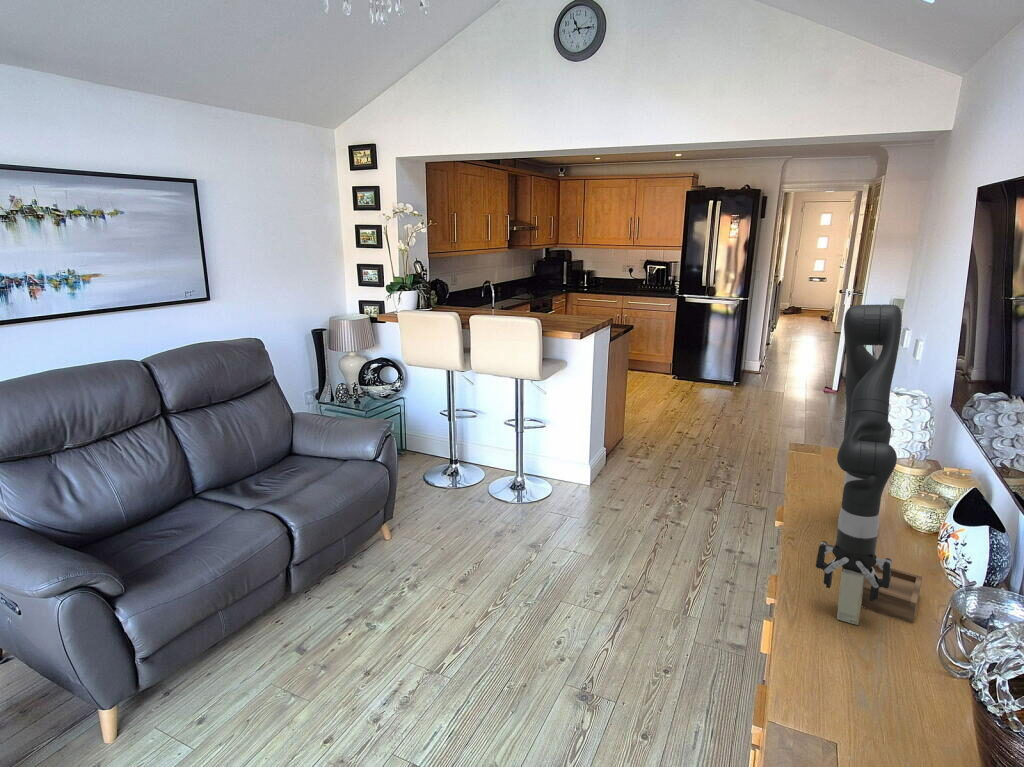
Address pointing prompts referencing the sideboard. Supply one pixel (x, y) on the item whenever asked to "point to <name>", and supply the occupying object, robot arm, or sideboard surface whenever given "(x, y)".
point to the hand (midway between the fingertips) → (849, 592)
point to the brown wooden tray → (894, 595)
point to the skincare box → (850, 596)
